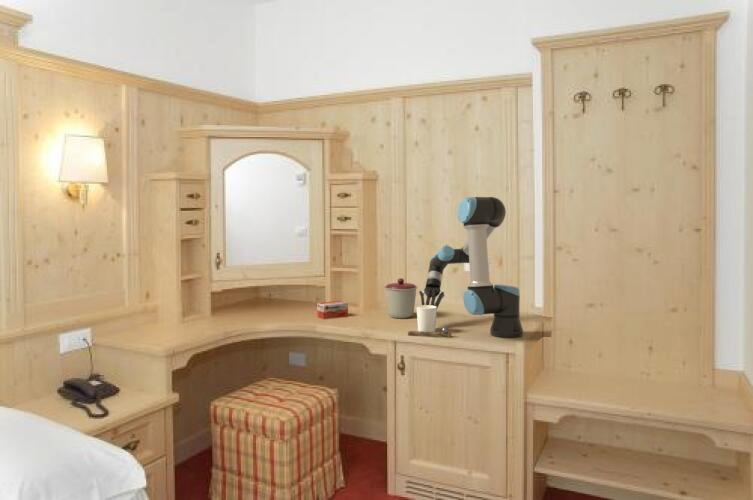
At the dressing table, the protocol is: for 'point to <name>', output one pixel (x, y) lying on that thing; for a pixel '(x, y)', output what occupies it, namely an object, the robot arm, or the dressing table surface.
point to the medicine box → (332, 309)
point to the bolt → (445, 330)
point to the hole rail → (428, 334)
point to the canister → (400, 299)
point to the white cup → (426, 318)
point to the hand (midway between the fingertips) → (427, 320)
